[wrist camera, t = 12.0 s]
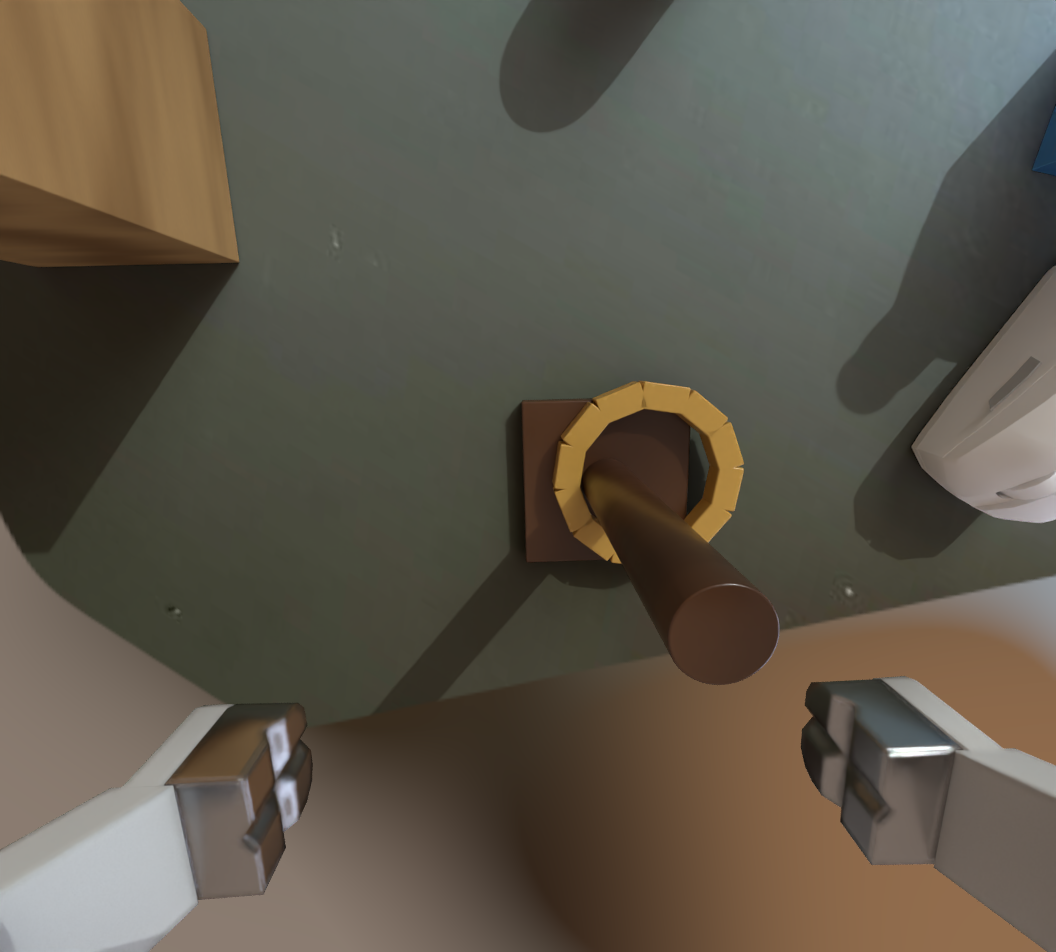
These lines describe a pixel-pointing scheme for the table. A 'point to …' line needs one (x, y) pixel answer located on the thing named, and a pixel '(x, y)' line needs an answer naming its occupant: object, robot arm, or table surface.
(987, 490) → the computer mouse
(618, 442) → the post
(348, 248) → the table surface
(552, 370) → the table surface
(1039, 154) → the perfume bottle
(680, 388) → the ring
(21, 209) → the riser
